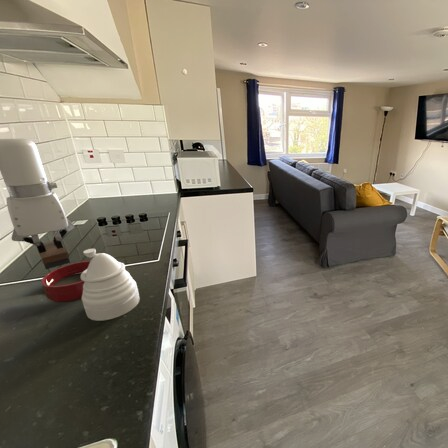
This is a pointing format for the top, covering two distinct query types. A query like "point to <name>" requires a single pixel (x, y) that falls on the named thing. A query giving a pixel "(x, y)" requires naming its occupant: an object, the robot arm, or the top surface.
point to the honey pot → (107, 287)
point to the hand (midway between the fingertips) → (52, 254)
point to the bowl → (64, 291)
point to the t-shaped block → (54, 255)
